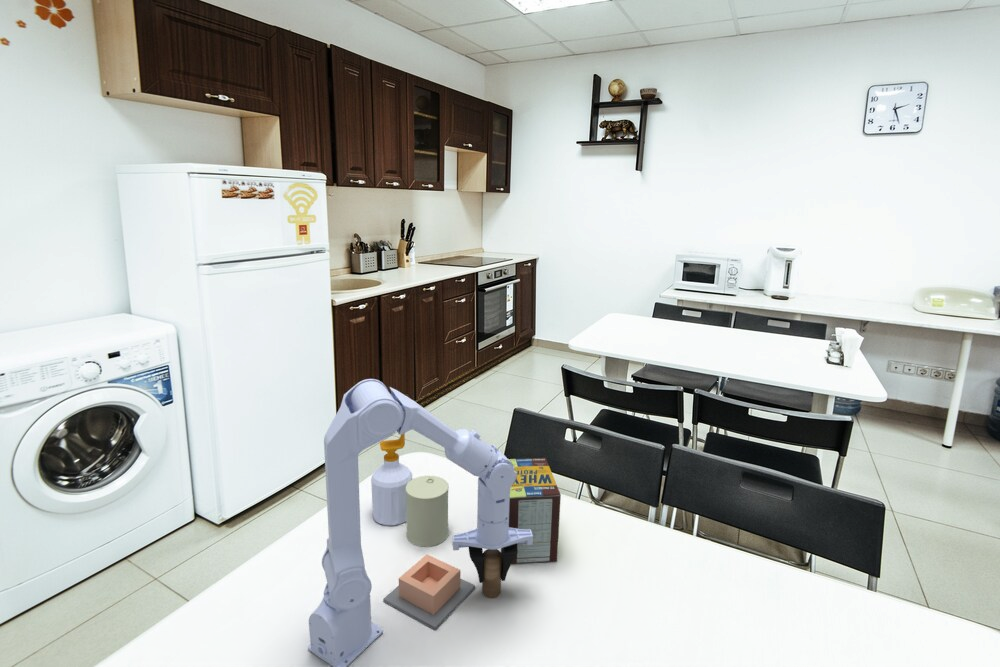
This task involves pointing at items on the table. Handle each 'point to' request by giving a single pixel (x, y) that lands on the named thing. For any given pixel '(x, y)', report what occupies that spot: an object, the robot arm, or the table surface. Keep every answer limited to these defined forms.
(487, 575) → the walnut peg
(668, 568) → the table surface
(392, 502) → the soap bottle
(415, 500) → the can
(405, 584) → the terracotta holder
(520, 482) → the protein box
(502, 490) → the robot arm
